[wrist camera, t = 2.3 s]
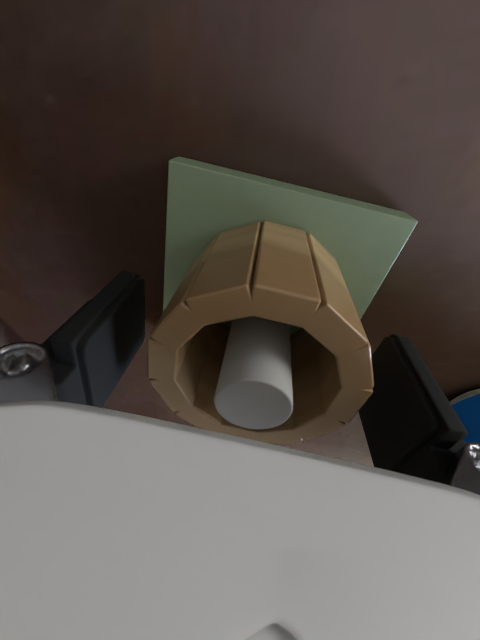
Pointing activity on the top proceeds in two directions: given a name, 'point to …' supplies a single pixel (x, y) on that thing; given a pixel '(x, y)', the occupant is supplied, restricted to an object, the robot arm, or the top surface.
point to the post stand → (285, 209)
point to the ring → (273, 304)
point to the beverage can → (469, 413)
